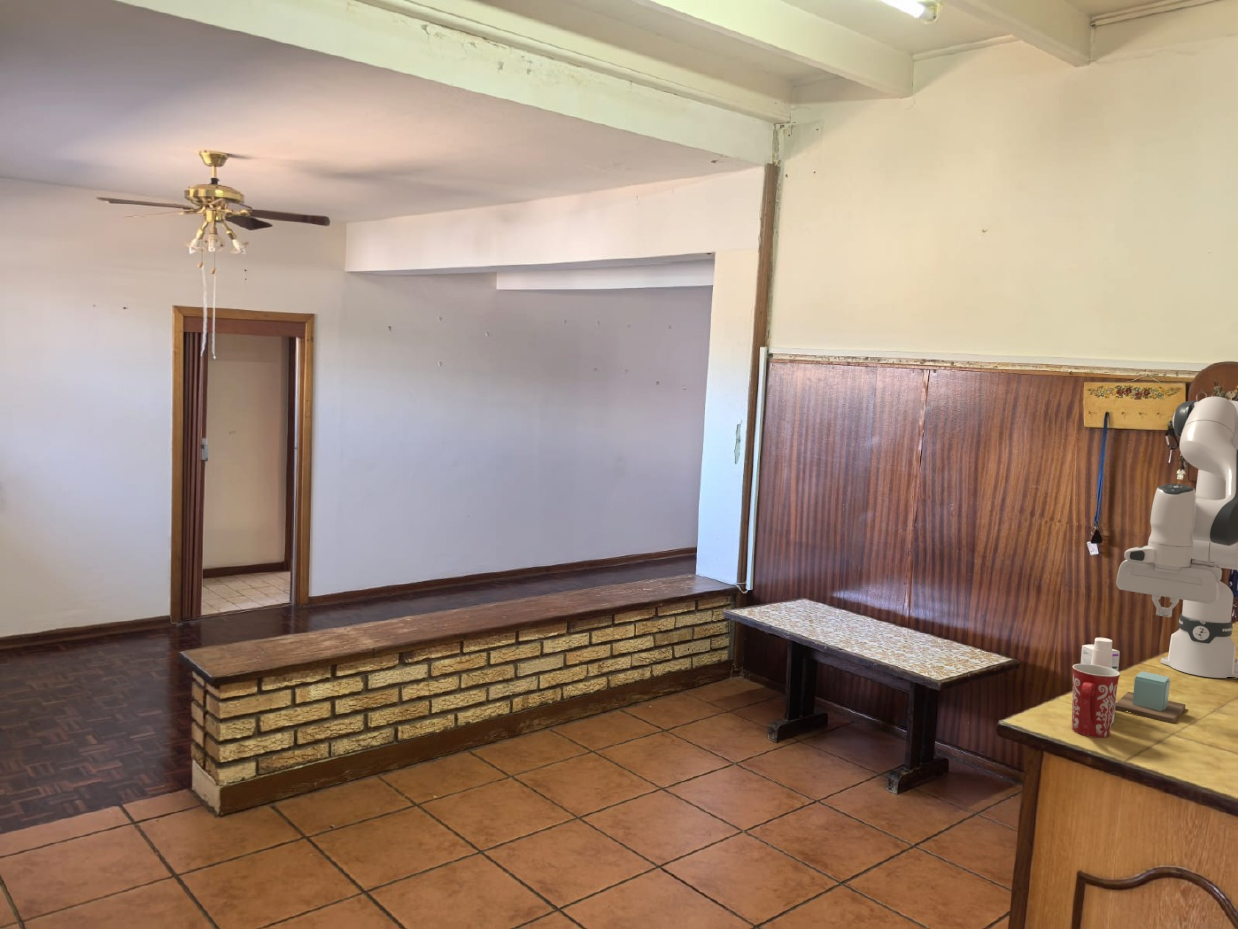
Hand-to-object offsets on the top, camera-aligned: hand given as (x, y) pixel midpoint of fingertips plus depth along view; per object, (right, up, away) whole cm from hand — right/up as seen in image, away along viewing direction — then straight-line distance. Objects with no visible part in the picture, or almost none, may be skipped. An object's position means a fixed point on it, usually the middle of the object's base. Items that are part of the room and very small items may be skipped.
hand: (1163, 615), depth 218 cm
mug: (-26, -22, -17) cm, 38 cm away
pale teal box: (-2, -21, +1) cm, 21 cm away
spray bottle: (-19, -22, -8) cm, 30 cm away
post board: (-2, -22, +1) cm, 22 cm away
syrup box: (-16, -21, -1) cm, 27 cm away
